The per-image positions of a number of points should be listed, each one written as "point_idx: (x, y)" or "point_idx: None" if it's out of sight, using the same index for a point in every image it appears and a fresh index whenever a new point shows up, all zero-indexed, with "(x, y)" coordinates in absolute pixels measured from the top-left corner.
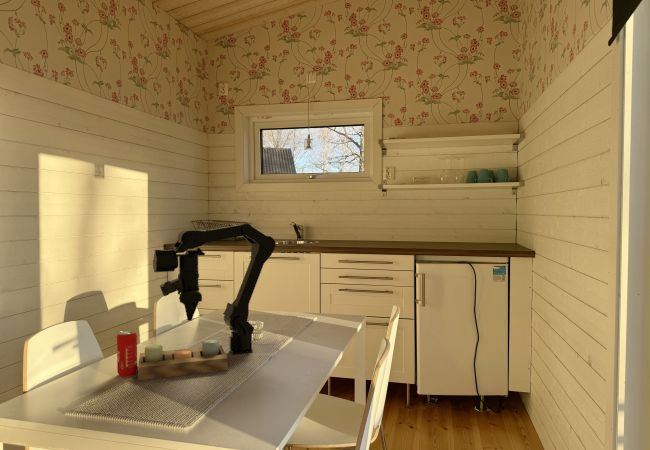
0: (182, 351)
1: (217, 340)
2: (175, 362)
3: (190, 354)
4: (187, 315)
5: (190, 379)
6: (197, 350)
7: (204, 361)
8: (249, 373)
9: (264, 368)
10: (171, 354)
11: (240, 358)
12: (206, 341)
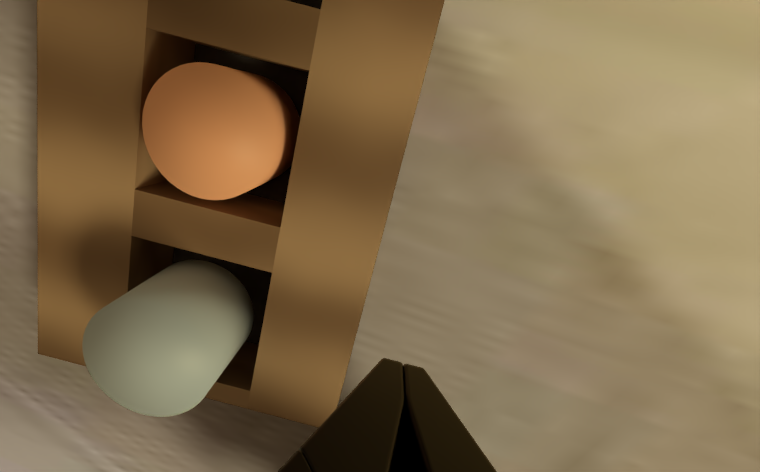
0: (249, 145)
1: (164, 414)
2: (63, 28)
3: (174, 180)
4: (346, 406)
5: (16, 99)
6: (295, 266)
7: (44, 221)
8: (8, 376)
9: (53, 452)
10: (295, 63)
11: (255, 440)
12: (174, 341)
